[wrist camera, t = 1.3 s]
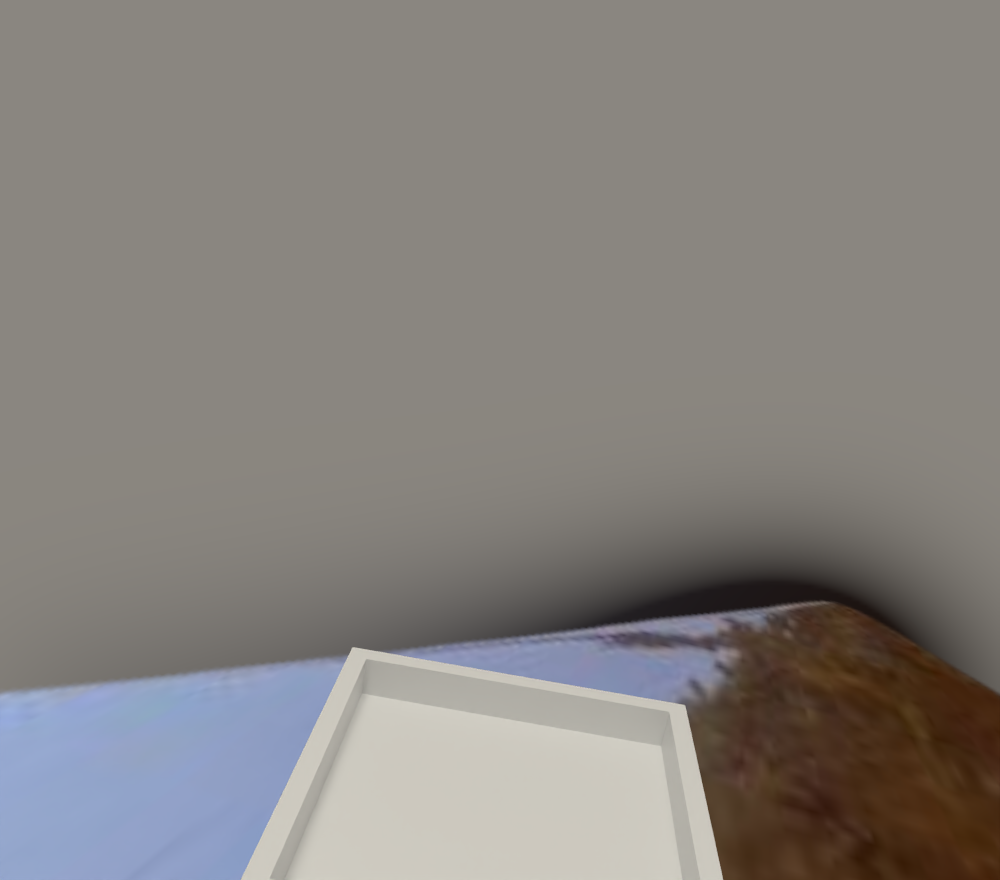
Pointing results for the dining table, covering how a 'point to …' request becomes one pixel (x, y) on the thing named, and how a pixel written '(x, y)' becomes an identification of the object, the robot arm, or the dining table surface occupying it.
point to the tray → (488, 783)
